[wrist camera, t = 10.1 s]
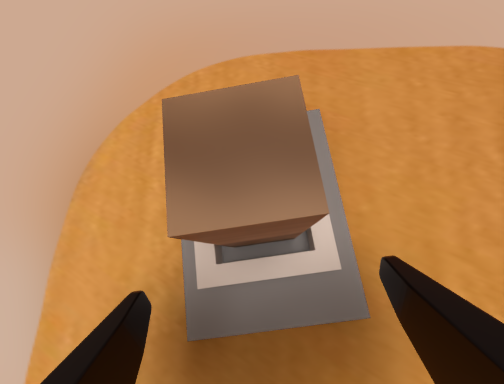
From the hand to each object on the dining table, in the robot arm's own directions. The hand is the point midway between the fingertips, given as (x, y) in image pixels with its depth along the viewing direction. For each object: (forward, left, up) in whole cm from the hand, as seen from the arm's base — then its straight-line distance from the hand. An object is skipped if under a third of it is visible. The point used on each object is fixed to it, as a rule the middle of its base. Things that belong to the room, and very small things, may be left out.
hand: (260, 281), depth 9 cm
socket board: (+3, +3, -12) cm, 13 cm away
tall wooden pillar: (+3, +3, -11) cm, 12 cm away
